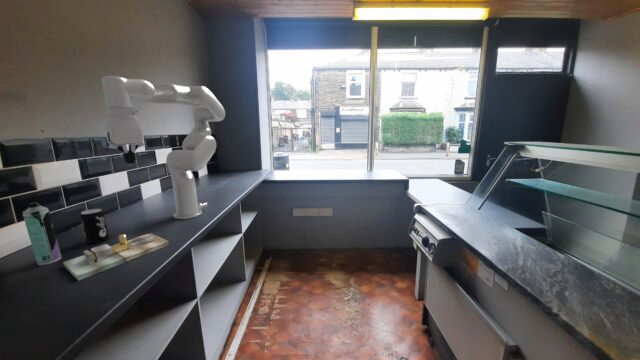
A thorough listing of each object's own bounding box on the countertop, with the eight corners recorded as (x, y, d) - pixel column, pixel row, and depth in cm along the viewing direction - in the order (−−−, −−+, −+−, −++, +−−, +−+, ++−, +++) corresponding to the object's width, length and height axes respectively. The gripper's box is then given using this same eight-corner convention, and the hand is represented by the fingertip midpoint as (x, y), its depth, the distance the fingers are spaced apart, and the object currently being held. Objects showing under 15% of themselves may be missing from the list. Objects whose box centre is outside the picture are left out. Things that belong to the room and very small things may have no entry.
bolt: (128, 245, 88) (125, 232, 87) (131, 247, 87) (128, 234, 86) (91, 258, 80) (88, 244, 79) (94, 260, 79) (91, 246, 78)
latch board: (151, 236, 99) (149, 225, 98) (169, 245, 92) (167, 233, 91) (64, 266, 79) (60, 253, 78) (78, 280, 71) (74, 266, 70)
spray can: (65, 257, 84) (50, 200, 80) (43, 266, 79) (26, 206, 75) (55, 255, 86) (40, 199, 81) (33, 263, 81) (15, 204, 76)
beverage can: (96, 245, 93) (88, 214, 90) (82, 243, 94) (74, 213, 91) (113, 237, 99) (107, 208, 96) (100, 236, 100) (93, 207, 98)
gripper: (139, 113, 99) (147, 159, 103) (91, 113, 87) (102, 165, 91) (148, 113, 95) (156, 161, 99) (99, 112, 83) (110, 166, 87)
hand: (130, 162), depth 95 cm, fingers closed
